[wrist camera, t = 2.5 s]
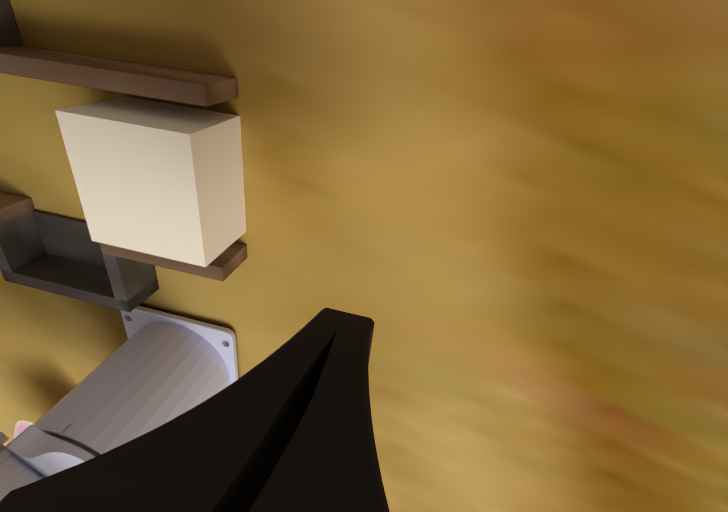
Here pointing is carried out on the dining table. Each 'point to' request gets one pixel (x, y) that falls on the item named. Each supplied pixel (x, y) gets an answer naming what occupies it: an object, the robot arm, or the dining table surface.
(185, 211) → the cream block
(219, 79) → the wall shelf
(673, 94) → the dining table surface
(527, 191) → the dining table surface
